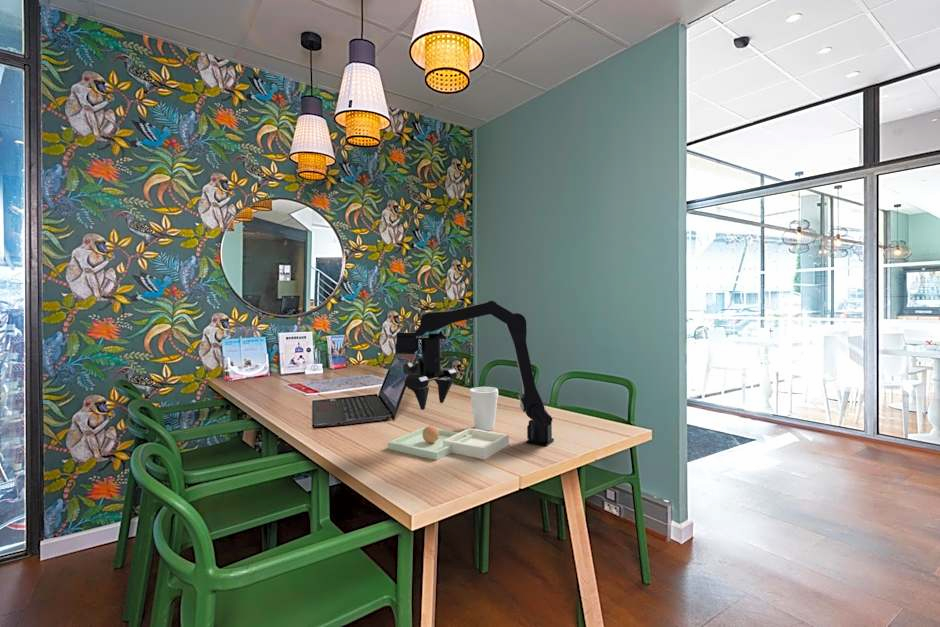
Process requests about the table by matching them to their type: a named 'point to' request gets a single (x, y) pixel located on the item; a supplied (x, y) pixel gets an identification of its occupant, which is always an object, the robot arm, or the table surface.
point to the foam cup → (484, 407)
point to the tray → (425, 444)
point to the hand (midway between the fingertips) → (432, 406)
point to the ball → (430, 434)
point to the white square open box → (477, 443)
